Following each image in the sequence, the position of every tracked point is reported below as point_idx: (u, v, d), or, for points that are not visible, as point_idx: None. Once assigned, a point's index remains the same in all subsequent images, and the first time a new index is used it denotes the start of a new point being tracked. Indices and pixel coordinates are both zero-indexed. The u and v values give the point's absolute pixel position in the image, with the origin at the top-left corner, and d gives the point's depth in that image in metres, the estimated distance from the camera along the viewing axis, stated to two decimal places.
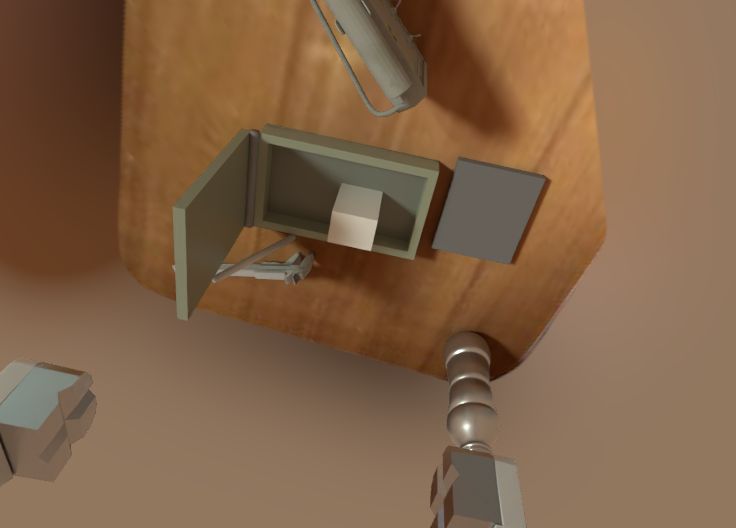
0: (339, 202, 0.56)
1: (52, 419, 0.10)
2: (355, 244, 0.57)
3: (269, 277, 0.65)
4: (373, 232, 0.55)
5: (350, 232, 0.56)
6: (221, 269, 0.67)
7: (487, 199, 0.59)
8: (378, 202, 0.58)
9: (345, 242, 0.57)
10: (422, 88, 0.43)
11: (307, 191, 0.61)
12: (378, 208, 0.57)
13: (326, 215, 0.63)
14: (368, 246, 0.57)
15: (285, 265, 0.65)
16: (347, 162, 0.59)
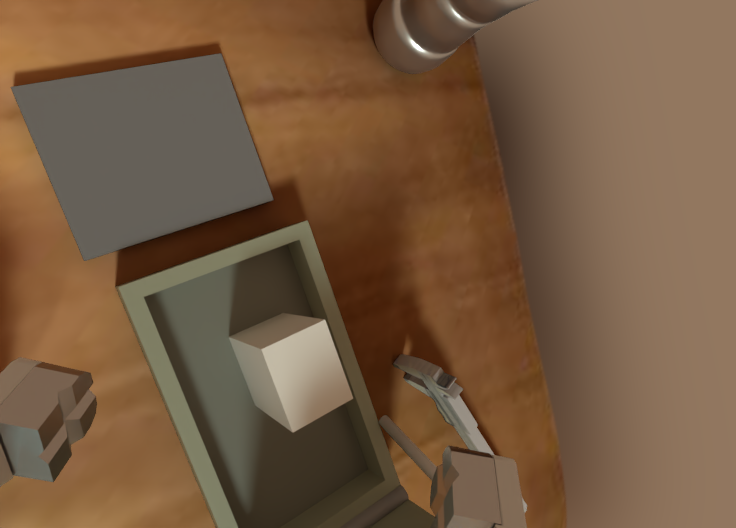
0: (276, 415, 0.30)
1: (52, 419, 0.10)
2: (329, 352, 0.29)
3: (465, 411, 0.38)
4: (288, 340, 0.28)
5: (314, 376, 0.29)
6: None
7: (125, 166, 0.30)
8: (242, 346, 0.31)
9: (335, 369, 0.29)
10: None
11: (302, 441, 0.35)
12: (247, 346, 0.29)
13: None
14: (319, 329, 0.29)
15: (435, 396, 0.38)
16: (215, 421, 0.33)
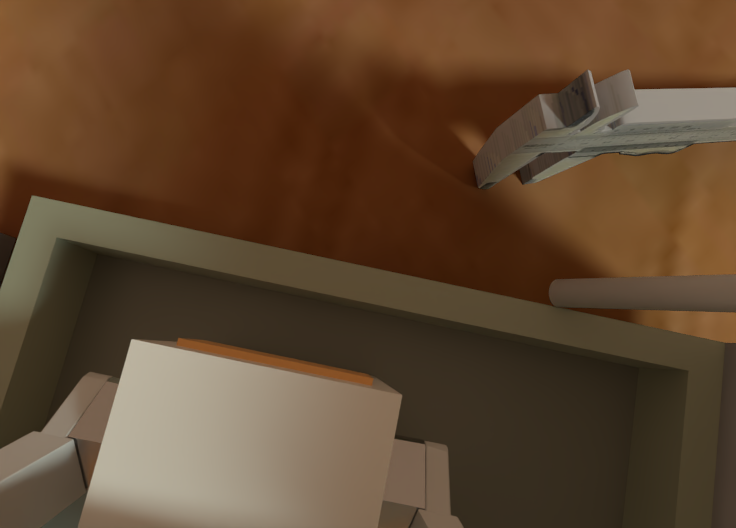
0: None
1: None
2: (225, 383, 0.09)
3: (685, 96, 0.15)
4: (101, 482, 0.09)
5: (253, 470, 0.09)
6: None
7: None
8: None
9: (285, 393, 0.09)
10: None
11: (484, 462, 0.16)
12: None
13: (414, 358, 0.16)
14: (143, 372, 0.09)
15: (600, 146, 0.15)
16: None
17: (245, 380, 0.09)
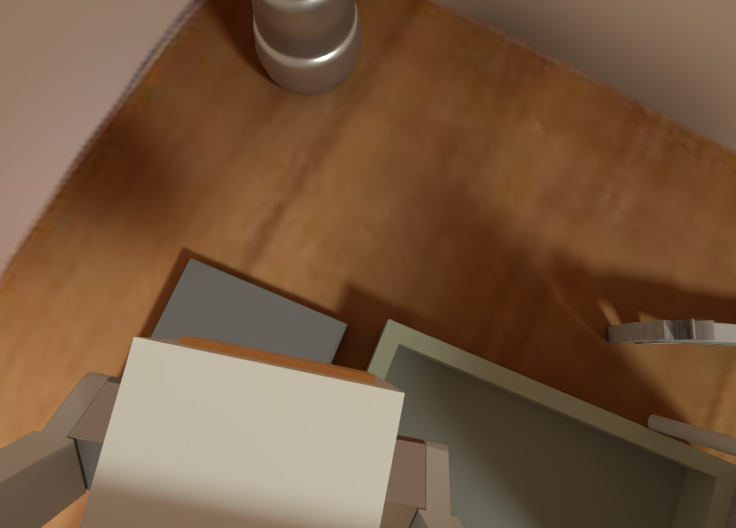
0: None
1: None
2: (228, 381, 0.09)
3: None
4: (103, 480, 0.09)
5: (256, 467, 0.09)
6: None
7: None
8: None
9: (288, 391, 0.09)
10: None
11: (590, 504, 0.28)
12: None
13: (559, 437, 0.29)
14: (146, 370, 0.09)
15: (688, 342, 0.28)
16: None
17: (247, 378, 0.09)
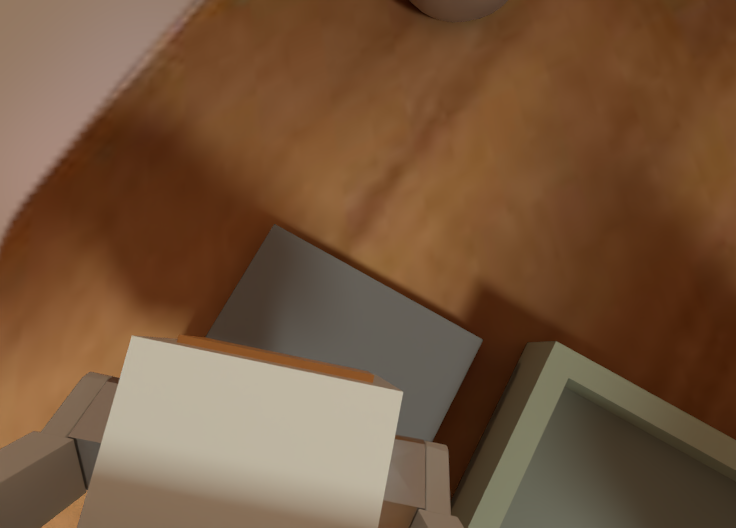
0: None
1: None
2: (226, 380, 0.09)
3: None
4: (101, 479, 0.09)
5: (254, 467, 0.09)
6: None
7: None
8: None
9: (286, 390, 0.09)
10: None
11: None
12: None
13: None
14: (144, 369, 0.09)
15: None
16: None
17: (246, 377, 0.09)
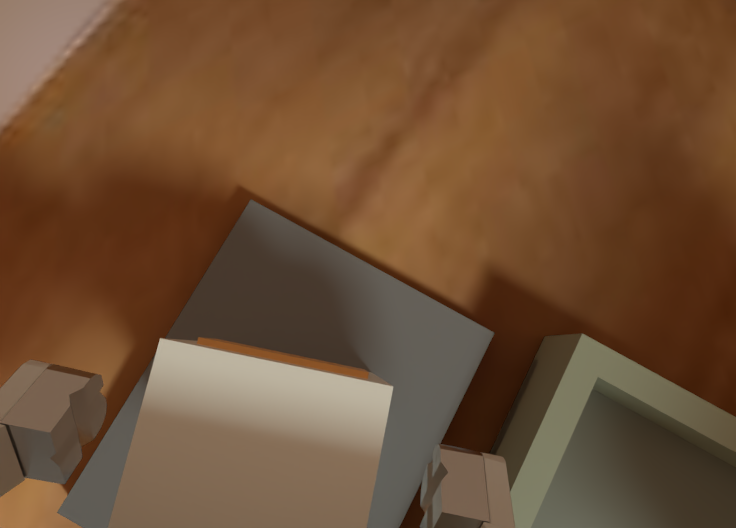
0: None
1: (64, 421, 0.10)
2: (241, 376, 0.11)
3: None
4: (135, 460, 0.10)
5: (265, 450, 0.10)
6: None
7: None
8: None
9: (292, 385, 0.11)
10: None
11: None
12: None
13: None
14: (170, 367, 0.11)
15: None
16: None
17: (258, 373, 0.11)
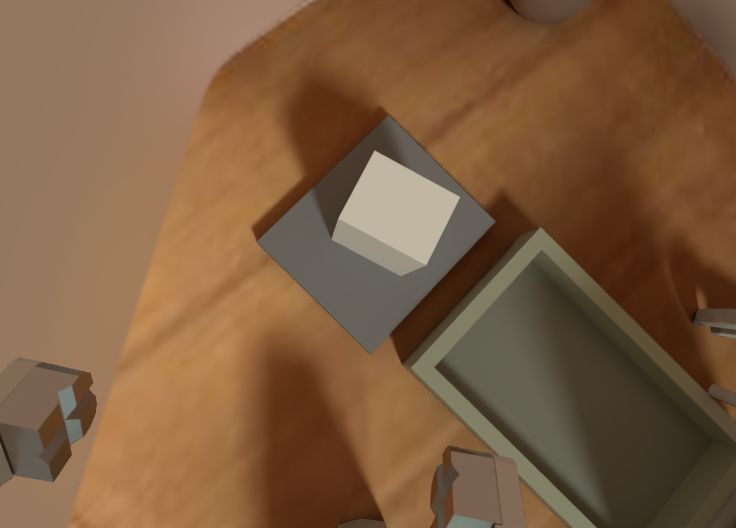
0: (408, 265, 0.28)
1: (52, 419, 0.10)
2: (402, 174, 0.26)
3: None
4: (355, 193, 0.26)
5: (405, 205, 0.26)
6: None
7: (363, 259, 0.32)
8: (339, 234, 0.29)
9: (421, 184, 0.26)
10: None
11: (630, 437, 0.34)
12: (337, 229, 0.28)
13: (626, 378, 0.34)
14: (376, 162, 0.26)
15: None
16: (539, 448, 0.33)
17: (409, 175, 0.26)
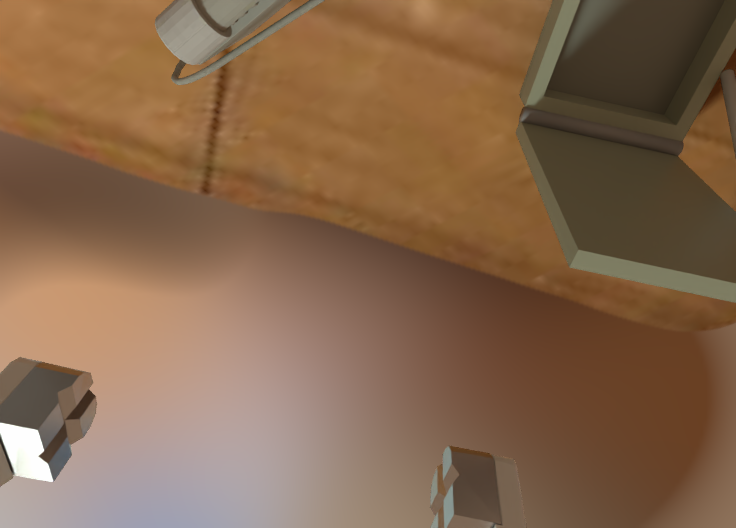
0: None
1: (52, 419, 0.10)
2: None
3: None
4: None
5: None
6: None
7: None
8: None
9: None
10: None
11: (644, 41, 0.36)
12: None
13: (702, 7, 0.35)
14: None
15: None
16: None
17: None
